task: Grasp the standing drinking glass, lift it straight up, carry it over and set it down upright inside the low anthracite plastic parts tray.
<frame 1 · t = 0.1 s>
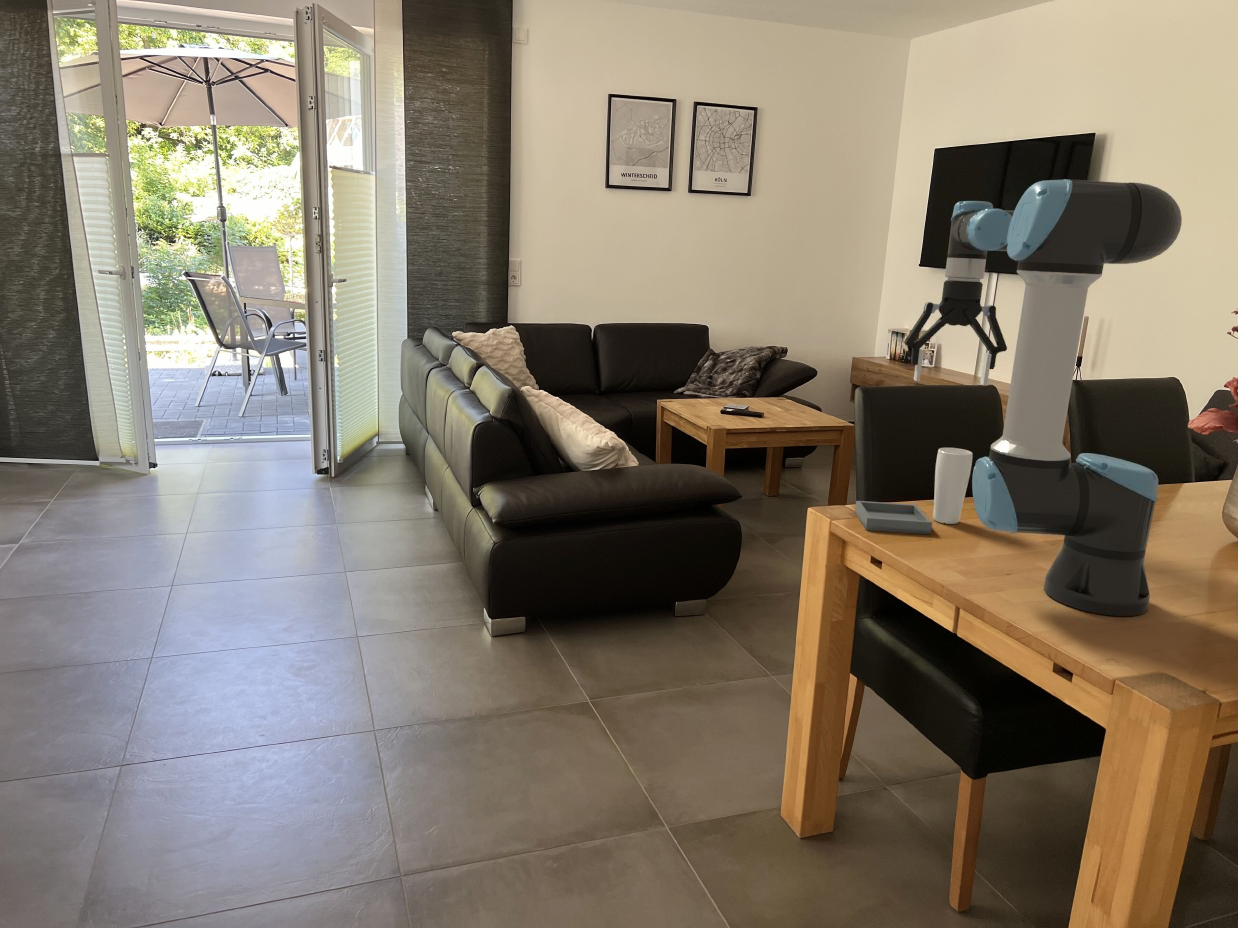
hand: (949, 382, 186), 28 cm above the table, fingers open, 13 cm apart
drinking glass: (945, 522, 184), on the table
tray: (891, 522, 181), on the table
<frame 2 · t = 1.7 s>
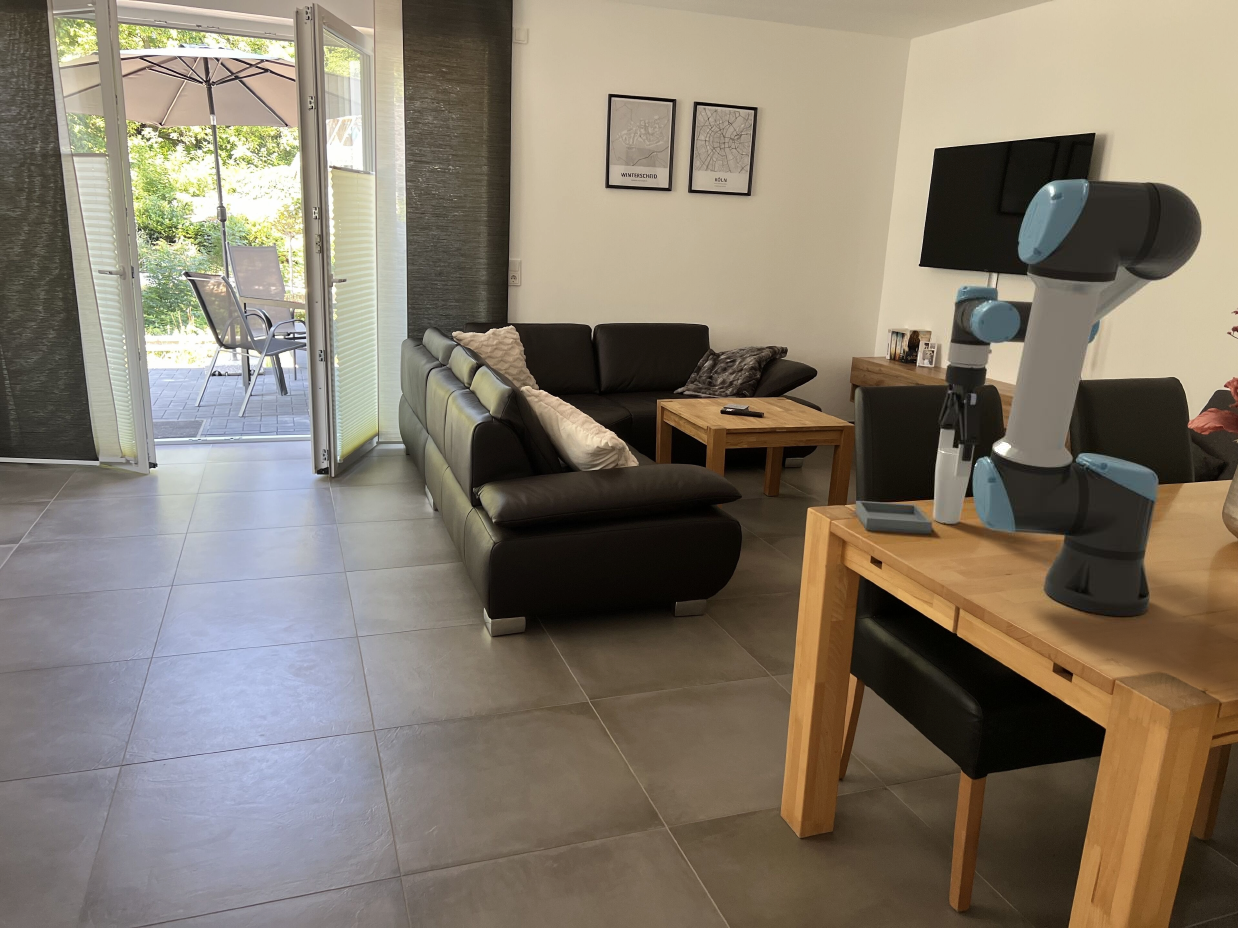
hand: (952, 467, 181), 11 cm above the table, fingers open, 13 cm apart
nothing on the table moved.
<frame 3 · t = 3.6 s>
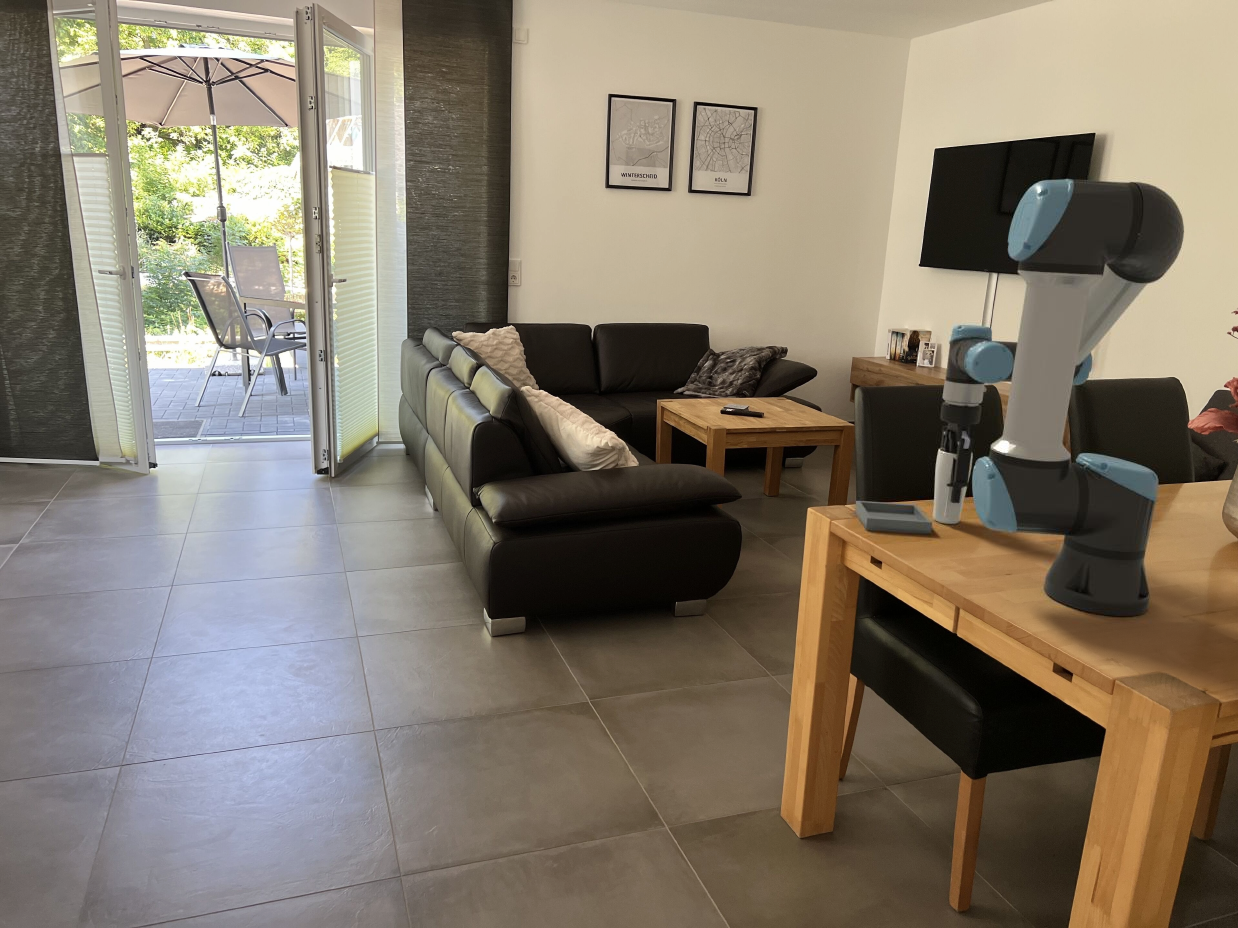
hand: (946, 512, 183), 2 cm above the table, fingers closed on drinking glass, 6 cm apart
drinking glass: (945, 521, 184), on the table, touching gripper
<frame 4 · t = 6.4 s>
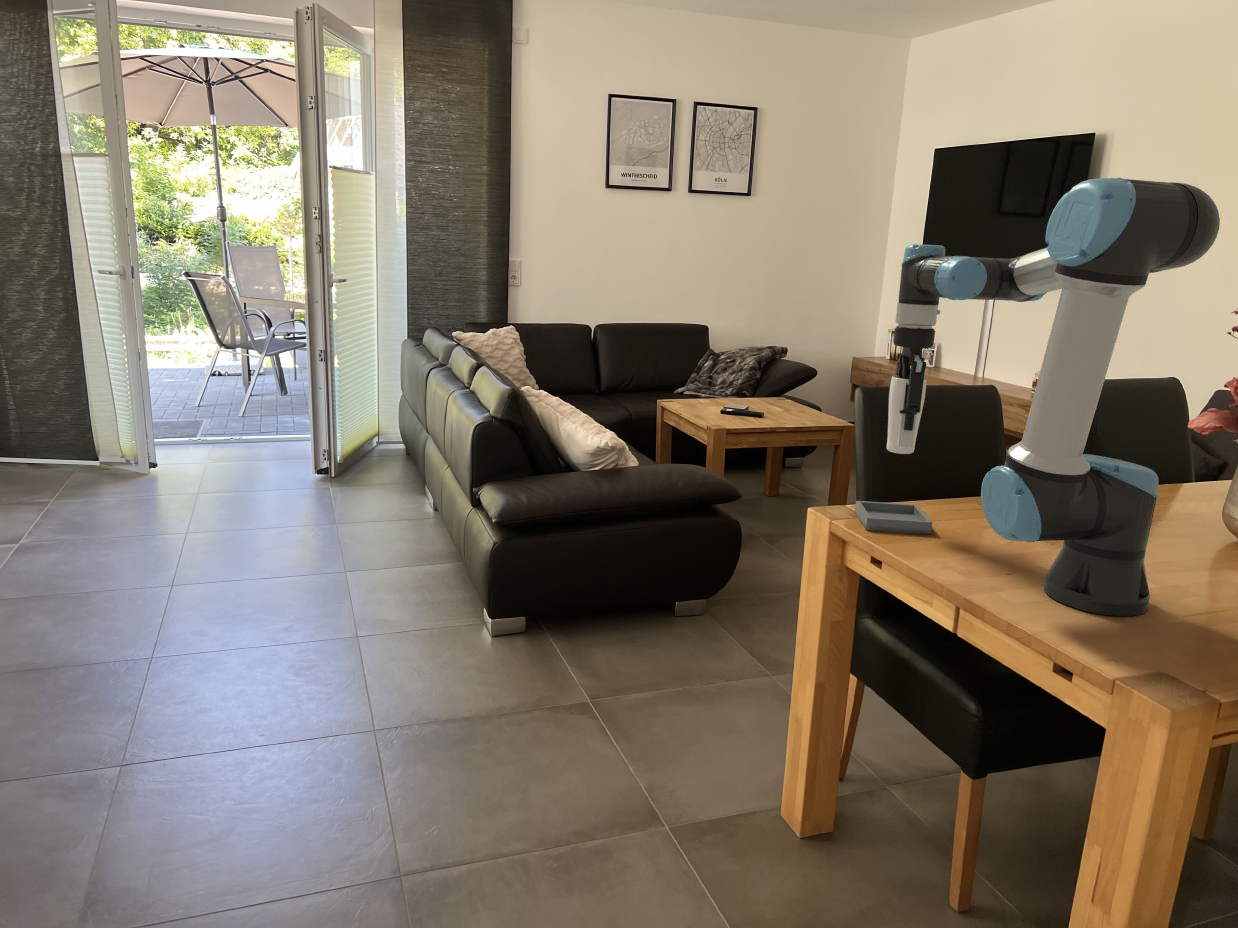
hand: (901, 442, 177), 17 cm above the table, fingers closed on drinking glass, 6 cm apart
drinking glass: (899, 452, 177), point 15 cm above the table, touching gripper
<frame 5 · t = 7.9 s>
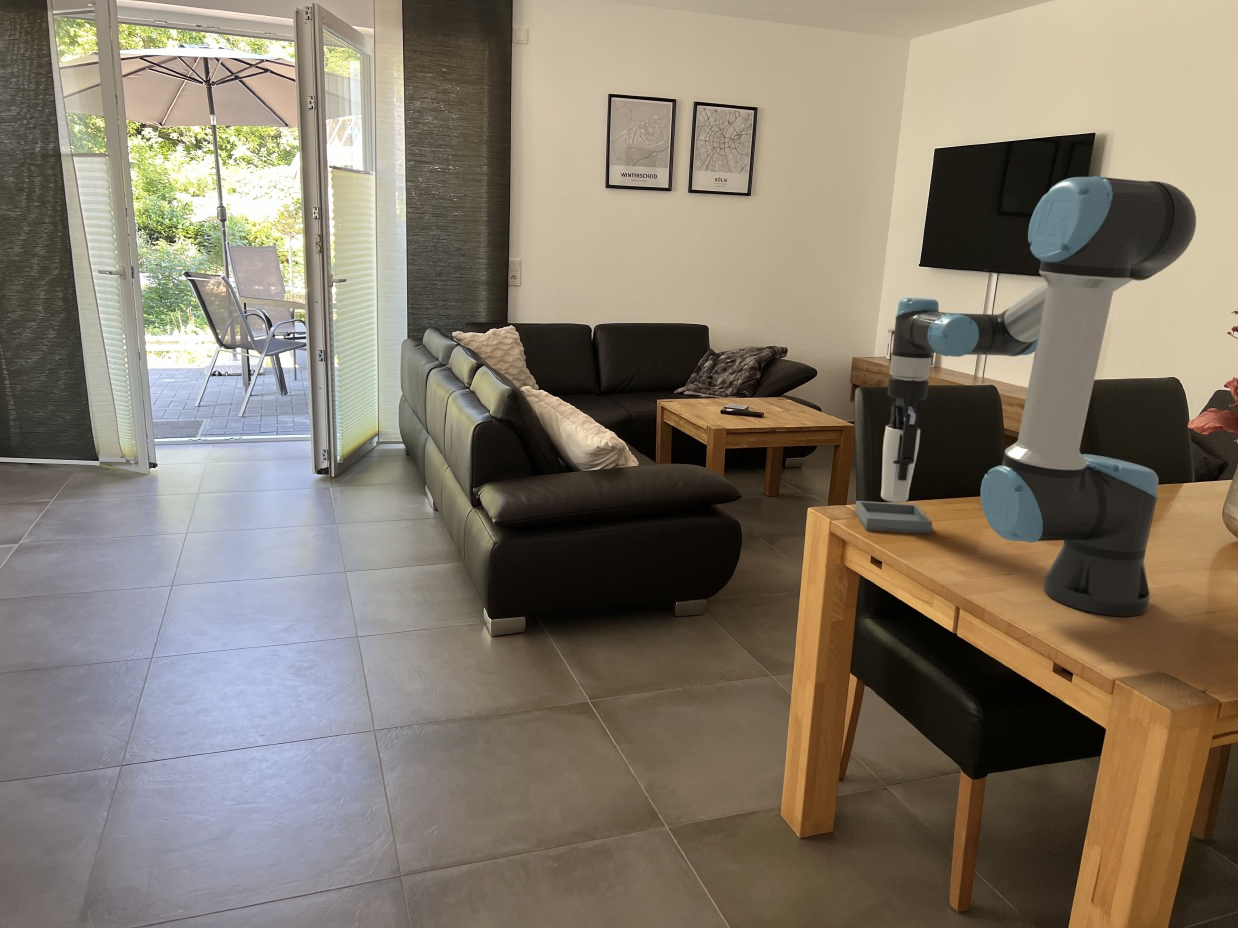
hand: (895, 490, 179), 7 cm above the table, fingers closed on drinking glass, 6 cm apart
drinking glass: (893, 500, 179), point 5 cm above the table, touching gripper
when the fingers open (5 cm above the table, at t = 9.2 s): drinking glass drops 2 cm, resting on tray.
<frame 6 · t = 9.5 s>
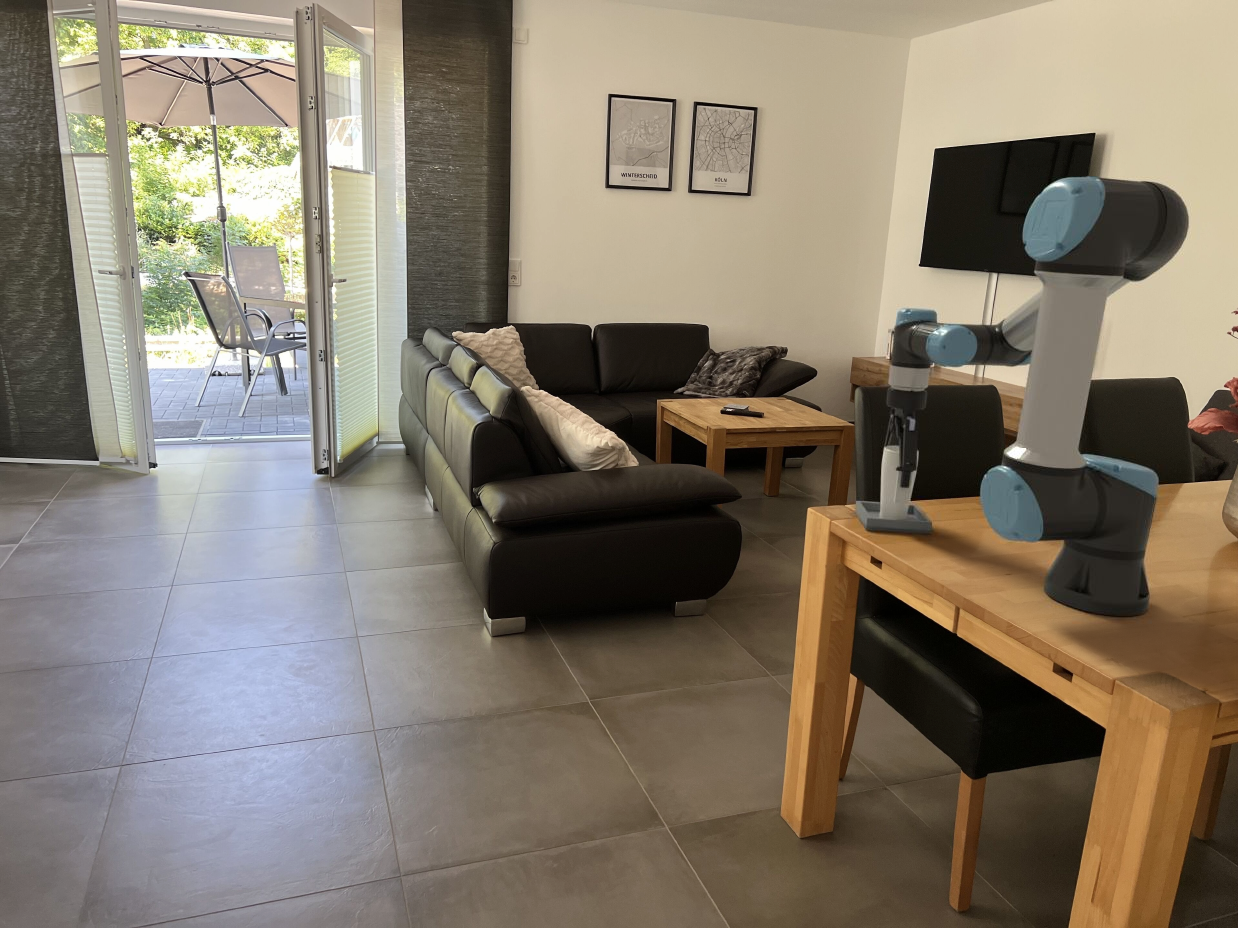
hand: (894, 494, 179), 6 cm above the table, fingers open, 11 cm apart
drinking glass: (892, 521, 179), point 1 cm above the table, touching tray
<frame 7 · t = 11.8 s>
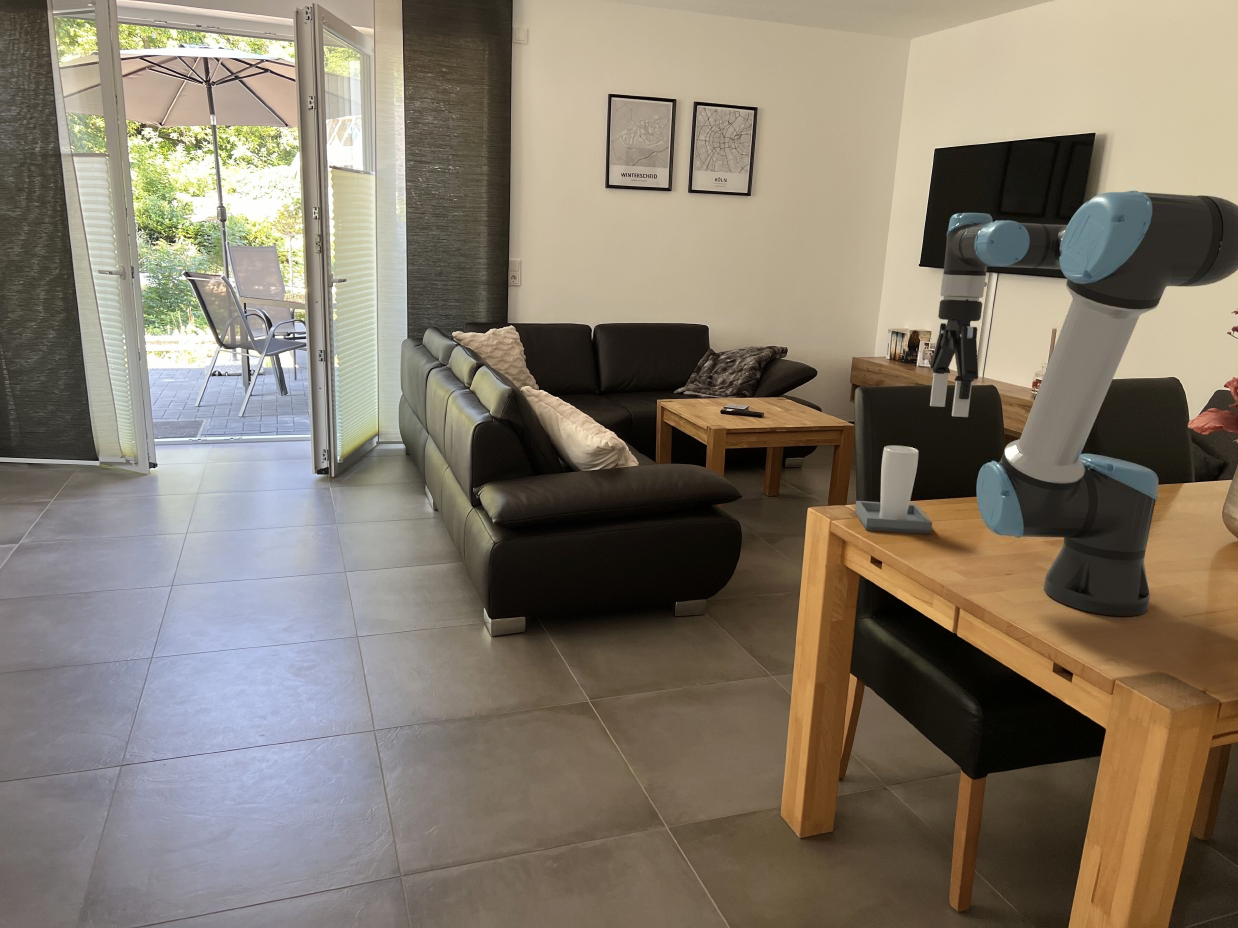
hand: (948, 411, 169), 25 cm above the table, fingers open, 13 cm apart
nothing on the table moved.
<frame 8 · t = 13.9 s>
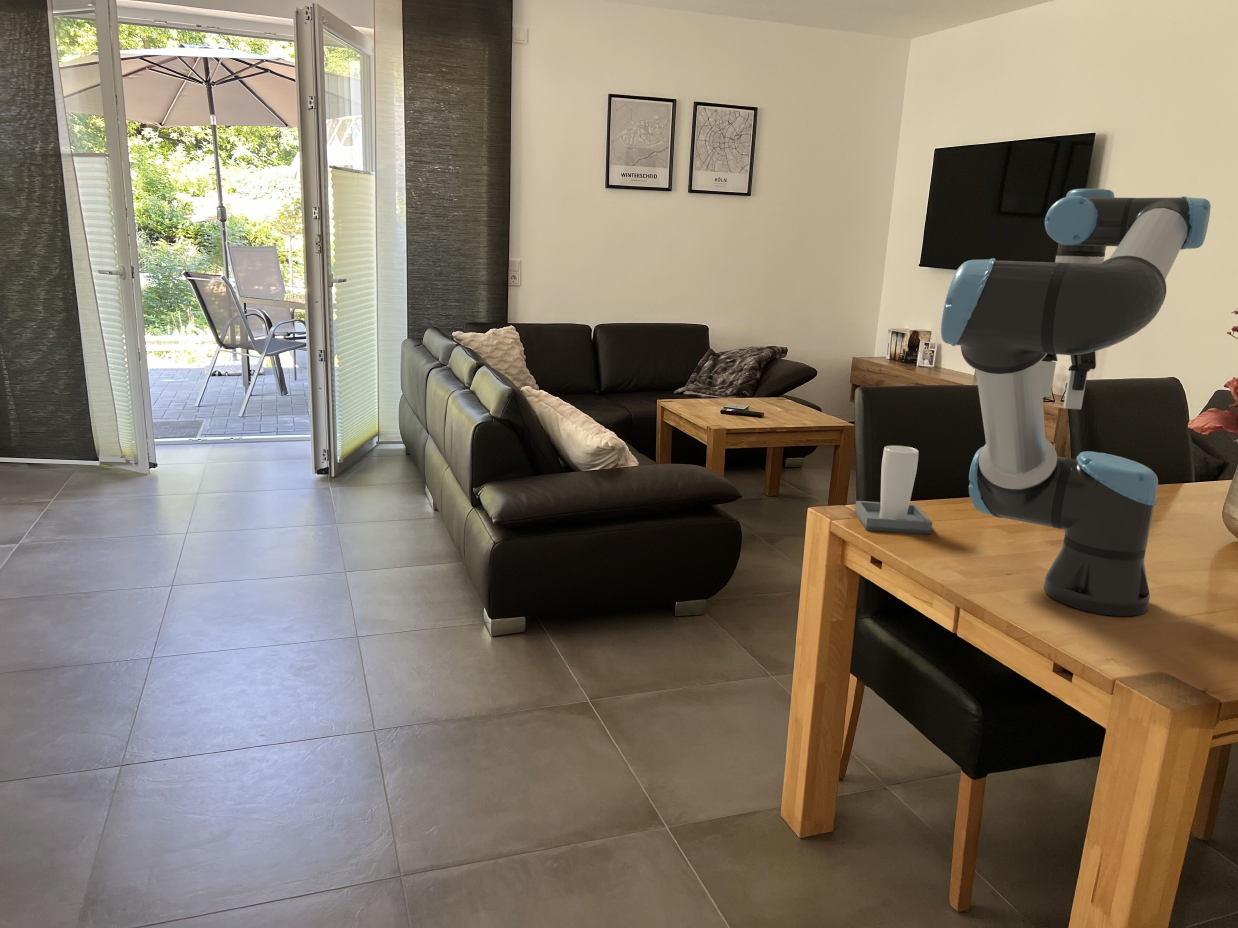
hand: (1056, 402, 159), 29 cm above the table, fingers open, 13 cm apart
nothing on the table moved.
at the end: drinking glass inside the target area on the tray (1.3 cm from its centre), point 0.6 cm above the tray's base; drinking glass tilted 0°; the gripper is holding nothing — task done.
